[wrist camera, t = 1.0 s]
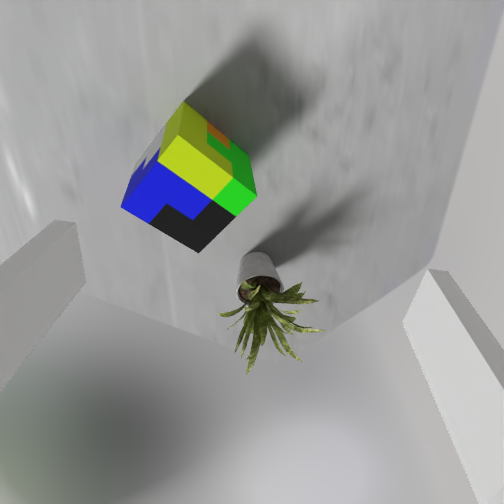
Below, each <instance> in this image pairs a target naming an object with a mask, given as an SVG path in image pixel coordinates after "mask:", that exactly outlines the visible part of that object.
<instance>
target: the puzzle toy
mask: <svg viewBox="0 0 504 504" xmlns="http://www.w3.org/2000/svg"><path fill="white" fill-rule="evenodd" d="M256 197H257V193H256V188H255V183H254V178H253V173H252V169H251V164H250V159H249V155H248V154H246V153H245V152H244V151H243V150H242V149H240V148H239V147H238V146H237V145H236V144H234V143H233V142H232V141H231V140H230V139H228V138H227V137H226V136H225V135H224V134H223V133H221V132H220V131H219V130H218V129H217V128H215V127H214V126H213V125H212V124H211V123H209V122H208V121H207V120H206V119H205V118H203V117H202V116H201V115H200V114H199V113H197V112H196V111H195V110H194V109H193V108H192V107H190V106H189V105H188V104H187V103H186V102H184V101H183V103H182V104H181V105H180V106H179V108H178V109H177V110H176V112H175V113H174V114H173V116H172V117H171V118H170V120H169V121H168V122H167V124H166V125H165V126H164V127H163V129H162V130H161V131H160V133H159V134H158V135H157V137H156V138H155V139H154V141H153V142H152V143H151V145H150V146H149V147H148V148H147V150H146V151H145V152H144V154H143V155H142V156H141V158H140V159H139V160H138V162H137V163H136V165H135V167H134V170H133V173H132V176H131V179H130V182H129V184H128V187H127V190H126V193H125V196H124V199H123V201H122V204H121V208H123V209H125V210H126V211H128V212H130V213H131V214H133V215H135V216H136V217H138V218H140V219H141V220H143V221H145V222H146V223H148V224H150V225H152V226H153V227H155V228H157V229H158V230H160V231H162V232H163V233H165V234H167V235H168V236H170V237H172V238H173V239H175V240H177V241H179V242H180V243H182V244H184V245H185V246H187V247H189V248H190V249H192V250H194V251H195V252H197V253H199V252H201V251H202V250H203V249H204V248H205V247H206V246H207V245H208V244H209V243H210V242H211V241H212V240H213V239H214V238H215V237H216V236H217V235H218V234H219V233H220V232H221V231H222V230H223V229H224V228H225V227H226V226H227V225H228V224H229V223H230V222H231V221H232V220H233V219H234V218H235V217H236V216H237V215H238V214H239V213H240V212H241V211H243V210H244V209H245V208H246V207H247V206H248V205H249V204H250V203H251V202H252V201H253V200H254V199H255V198H256Z"/></svg>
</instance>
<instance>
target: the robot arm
mask: <svg viewBox="0 0 504 504" xmlns="http://www.w3.org/2000/svg"><path fill="white" fill-rule="evenodd" d="M85 283H86V278H85V273H84V267H83V262H82V256H81V250H80V245H79V239H78V233H77V228H76V223H73V222H66V221H58V220H54V221H53V222H52V223H51V224H50V225H48V226H47V227H46V228H45V229H44V230H42V231H41V232H40V233H39V234H38V235H36V236H35V237H34V238H33V239H32V240H30V241H29V242H28V243H27V244H26V245H24V246H23V247H22V248H21V249H20V250H18V251H17V252H16V253H15V254H13V255H12V256H11V257H10V258H9V259H7V260H6V261H5V262H4V263H3V264H1V265H0V392H1V391H2V389H3V388H4V387H5V386H6V384H7V383H8V382H9V380H10V379H11V378H12V377H13V375H14V374H15V373H16V371H17V370H18V369H19V368H20V366H21V365H22V364H23V362H24V361H25V360H26V359H27V357H28V356H29V355H30V353H31V352H32V351H33V350H34V348H35V347H36V346H37V344H38V343H39V342H40V341H41V339H42V338H43V337H44V335H45V334H46V333H47V331H48V330H49V329H50V328H51V327H52V325H53V324H54V323H55V321H56V320H57V319H58V317H59V316H60V315H61V313H62V312H63V311H64V310H65V308H66V307H67V306H68V305H69V303H70V302H71V301H72V299H73V298H74V297H75V296H76V294H77V293H78V292H79V291H80V289H81V288H82V287H83V285H84V284H85ZM403 326H404V329H405V331H406V333H407V335H408V338H409V340H410V343H411V345H412V347H413V350H414V352H415V355H416V357H417V359H418V362H419V364H420V366H421V368H422V371H423V373H424V376H425V378H426V380H427V383H428V385H429V387H430V390H431V392H432V395H433V397H434V399H435V401H436V404H437V406H438V409H439V411H440V413H441V415H442V418H443V420H444V423H445V425H446V427H447V430H448V432H449V435H450V437H451V439H452V442H453V444H454V446H455V449H456V451H457V453H458V456H459V458H460V460H461V463H462V465H463V468H464V470H465V472H466V475H467V477H468V479H469V482H470V484H471V486H472V489H473V491H474V493H475V496H476V498H477V501H478V503H479V504H504V350H503V348H502V347H501V345H500V344H499V343H498V341H497V340H496V338H495V337H494V336H493V334H492V333H491V331H490V330H489V329H488V327H487V326H486V324H485V323H484V322H483V320H482V319H481V317H480V316H479V315H478V313H477V312H476V310H475V309H474V307H473V306H472V305H471V303H470V302H469V300H468V299H467V298H466V296H465V295H464V293H463V292H462V291H461V289H460V288H459V286H458V285H457V283H456V282H455V281H454V279H453V278H452V276H451V275H450V274H449V272H447V271H440V270H432V269H427V271H426V273H425V275H424V278H423V280H422V282H421V284H420V286H419V288H418V291H417V293H416V295H415V297H414V299H413V301H412V304H411V306H410V308H409V310H408V312H407V314H406V316H405V318H404V321H403Z"/></svg>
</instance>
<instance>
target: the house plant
mask: <svg viewBox="0 0 504 504" xmlns="http://www.w3.org/2000/svg"><path fill="white" fill-rule="evenodd" d="M301 284H302V282H301V283H300V284H297V285H295V286H293V287H291V288H290V289H288V290H286V291H285V292H283V290H284V288H283V284H282V282H281V280H280V278H279V276H278V273H277V271H276V269H275V267H274V265H273V263H272V261H271V259H270V257H269V256H268V255H267V254H265V253H263V252H251V253H248V254H246V255H245V256H244V257H243V258H242V259H241V261H240V265H239V273H238V281H237V289H236V296H237V298H238V300H239V301H240V302H241V303H242V304H243V306H242V307H240V308H239V309H236V310H234V311H231V312H227V313H219V314H220V315H221V316H222V317H230V316H233V315H235V314H236V313H238V312H240V311H241V310H242V309H243V308H244V307H245V313H244V315H243V316H242V317H241V318H240V319H242V318H243V317H244V316H245V314H246V313H247V314H246V316H245V318H244V326H243V328H242V331H241V333H240V335H239V338H238V342H237V345H236V350H235V352H236V351H237V349H238V347H239V344H240V343H241V341H242V339H243V336H244V333H245V332H246V336H245V339H244V342H243V347H242V356H243V353H244V350H245V348H246V346H247V342H248V338H249V335H250V333H254V335H253V342H252V347H251V352H250V356H248V358H249V362H248V368H247V370H246V374H247V373H248V372H249V371H250V369H251V368H252V366H253V365H254V362H255V360H256V356H257V353H258V350H259V346H260V343H261V345H263V344H264V342H265V338H266V335H267V327H268V329H269V332H270V334H271V337H272V340H273V342H274V344H275V346H276V348H277V349H278V351H280V352H281V353H282V354H283V355H285V354H284V353H283V352H282V350H281V348H280V346H279V344H278V342H277V340H276V337H275V335H274V332H273V330H272V328H271V326H272V327H273V329H274V330H275V332H276V334H277V336H278V338H279V340H280V342H281V344H282V346H283V347H284V349H285V350H286V352H287V353H289V354H290V355H291V356H292V357H294V358H295V359H297V360H299V361H301V360H300V359H299V358H298V357H297V356H296V355H295V353H294V352H293V351H292V349H291V348H290V346H289V345H288V343H287V341H286V339H285V337H284V335H283V333H286V332H284V331H283V330H282V329H281V328H280V327H279V326H278V325H277V324H276V322H275V321H274V319H273V317H272V315H273V316H274V317H275V318H276V319H277V320H278V321H279V322H280V323H281V325H282V327H283V328H284V329H285V330H286V331H287V332H288V333H289V334H292V332H291V331H290V329H292V330H294V331H297V332H301V333H310V332H321V331H324V330H313V329H304V328H312V327H302V326H298V325H296V324H294V323H293V321H294V320H295V319H296V318H295V317H290V316H286V315H283V314H282V313H280V312H279V311H278V310H277V308H275V307H274V306H273V304H274V303H289V304H308V303H313V302H317V300H314V299H303V298H301V297H302V296H303V295H304V293H305V292H304V293H298V294H296V293H297V292H298V291H299V289H300V287H301ZM319 301H320V300H319ZM245 305H246V306H248V308H247V307H246V306H245ZM268 307H269V308H270V309H271V310H272V311H271V310H270V309H269V308H268ZM280 311H281V310H280ZM299 311H300V310H297V311H282V312H284V313H288V314H295V313H298V312H299ZM270 313H271V314H272V315H271V314H270ZM240 319H239V320H240ZM239 320H238V321H239ZM238 321H237V322H238ZM237 322H236V323H237ZM236 323H235V324H236ZM290 323H292V324H294V325H295V326H293V325H292V324H290ZM235 324H234V325H235ZM234 325H232V326H234ZM270 325H271V326H270ZM232 326H231V327H232ZM296 326H297V327H296ZM299 327H300V328H299ZM289 328H290V329H289ZM228 329H229V328H228ZM326 331H327V330H326ZM292 335H293V334H292ZM242 356H241V357H242ZM248 358H247V359H248Z"/></svg>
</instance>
